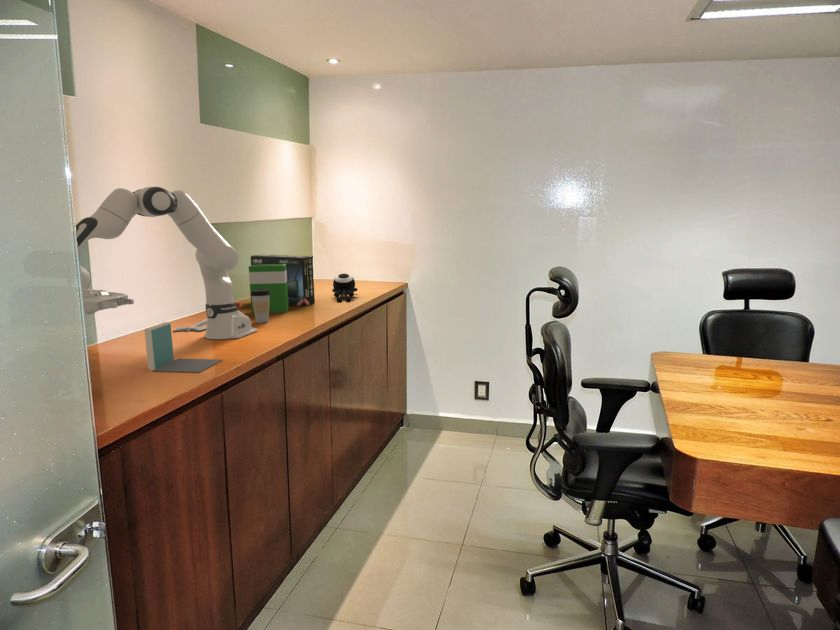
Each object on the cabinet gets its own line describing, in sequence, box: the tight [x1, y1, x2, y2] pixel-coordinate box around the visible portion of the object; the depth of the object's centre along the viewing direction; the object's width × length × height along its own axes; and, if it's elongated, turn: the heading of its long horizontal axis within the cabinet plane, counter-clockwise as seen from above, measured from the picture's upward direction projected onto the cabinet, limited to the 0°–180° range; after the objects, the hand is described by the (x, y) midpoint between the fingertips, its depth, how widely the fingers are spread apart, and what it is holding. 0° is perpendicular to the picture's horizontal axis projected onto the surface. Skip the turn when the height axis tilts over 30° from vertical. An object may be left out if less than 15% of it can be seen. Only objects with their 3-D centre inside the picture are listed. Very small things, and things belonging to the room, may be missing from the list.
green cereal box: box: [248, 264, 290, 314], centre depth 310 cm, size 18×7×24 cm, turn 94°
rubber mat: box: [152, 358, 223, 374], centre depth 208 cm, size 17×16×1 cm
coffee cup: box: [249, 289, 271, 324], centre depth 283 cm, size 9×9×15 cm
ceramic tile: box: [144, 321, 175, 371], centre depth 209 cm, size 2×12×14 cm, turn 171°
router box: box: [250, 253, 316, 307], centre depth 334 cm, size 36×11×27 cm, turn 66°
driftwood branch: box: [173, 317, 207, 332], centre depth 279 cm, size 30×14×2 cm, turn 178°
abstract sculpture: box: [331, 273, 358, 303], centre depth 352 cm, size 15×19×32 cm
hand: (124, 303), depth 208 cm, fingers open, 8 cm apart
